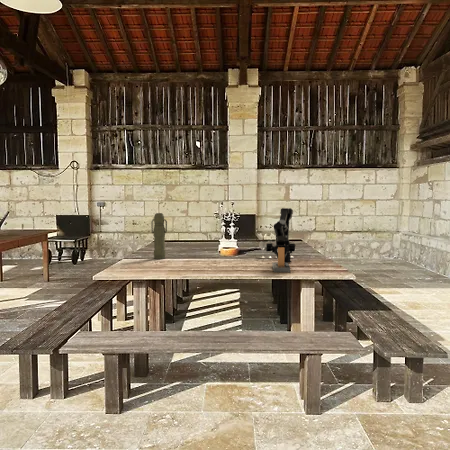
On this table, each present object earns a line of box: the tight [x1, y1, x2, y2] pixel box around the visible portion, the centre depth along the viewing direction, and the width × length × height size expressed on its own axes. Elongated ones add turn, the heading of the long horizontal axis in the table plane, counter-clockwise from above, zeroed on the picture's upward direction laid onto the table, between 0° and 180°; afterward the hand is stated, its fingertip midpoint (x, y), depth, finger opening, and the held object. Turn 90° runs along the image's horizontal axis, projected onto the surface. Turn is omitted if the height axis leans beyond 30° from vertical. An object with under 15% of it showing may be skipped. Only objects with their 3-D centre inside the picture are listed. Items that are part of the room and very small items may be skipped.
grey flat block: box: [271, 261, 291, 273], centre depth 259 cm, size 20×10×3 cm, turn 176°
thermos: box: [150, 212, 168, 260], centre depth 309 cm, size 9×12×35 cm
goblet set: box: [258, 239, 296, 259], centre depth 314 cm, size 28×6×13 cm, turn 92°
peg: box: [277, 247, 285, 266], centre depth 259 cm, size 4×4×13 cm
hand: (281, 257), depth 258 cm, fingers closed on peg, 4 cm apart
